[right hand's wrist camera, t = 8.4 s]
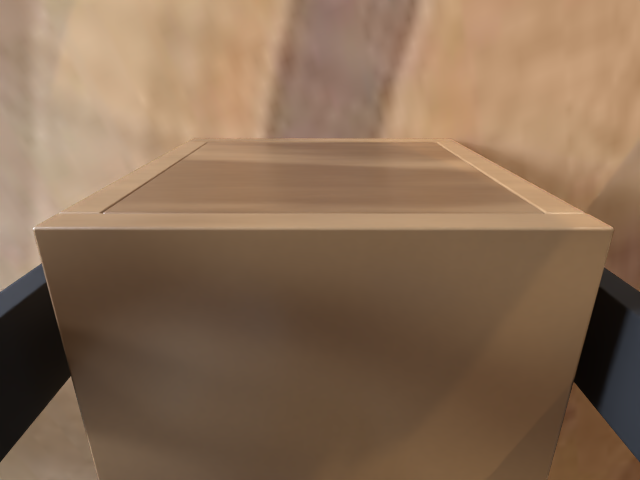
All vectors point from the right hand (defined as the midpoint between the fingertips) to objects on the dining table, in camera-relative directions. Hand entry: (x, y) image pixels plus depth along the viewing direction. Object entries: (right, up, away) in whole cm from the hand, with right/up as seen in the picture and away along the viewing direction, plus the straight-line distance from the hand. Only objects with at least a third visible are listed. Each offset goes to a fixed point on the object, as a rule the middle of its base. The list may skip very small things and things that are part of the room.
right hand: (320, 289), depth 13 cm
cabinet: (0, -3, +9) cm, 10 cm away
